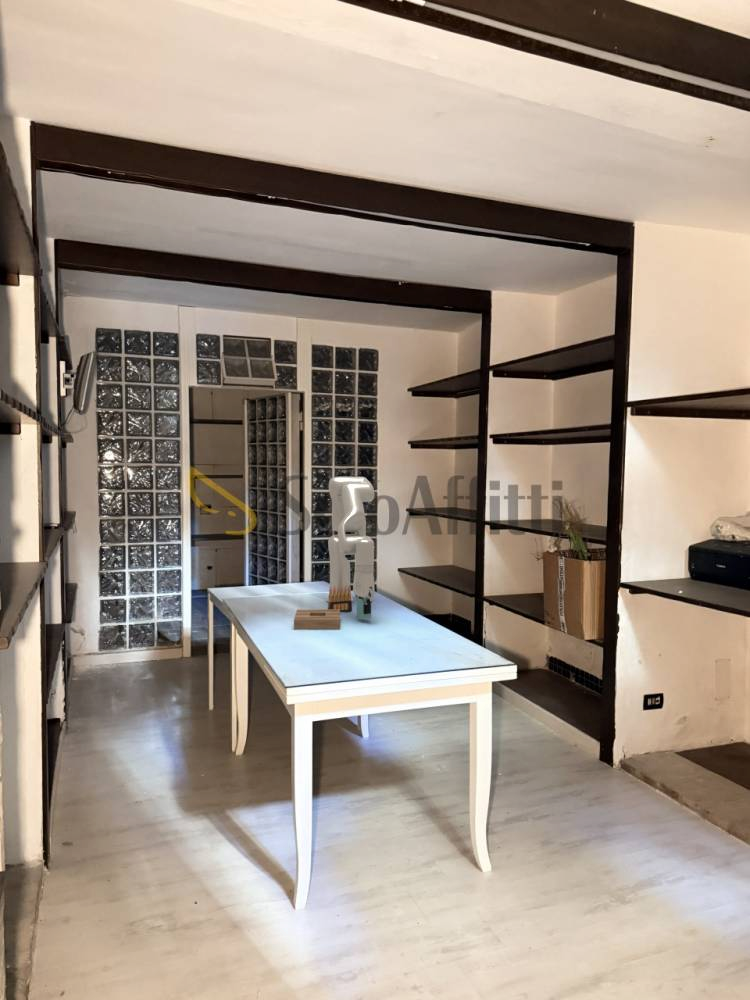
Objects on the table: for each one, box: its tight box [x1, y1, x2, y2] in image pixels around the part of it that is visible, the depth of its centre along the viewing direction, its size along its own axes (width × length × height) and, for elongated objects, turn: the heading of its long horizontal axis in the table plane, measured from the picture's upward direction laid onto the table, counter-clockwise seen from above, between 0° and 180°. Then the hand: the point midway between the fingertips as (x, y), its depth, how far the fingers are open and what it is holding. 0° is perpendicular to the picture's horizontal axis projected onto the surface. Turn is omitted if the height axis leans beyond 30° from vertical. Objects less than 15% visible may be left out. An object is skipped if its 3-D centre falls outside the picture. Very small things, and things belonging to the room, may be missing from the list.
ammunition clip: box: [327, 584, 353, 613], centre depth 295 cm, size 11×2×12 cm, turn 114°
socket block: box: [293, 608, 341, 630], centre depth 273 cm, size 18×18×4 cm
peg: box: [356, 597, 372, 620], centre depth 279 cm, size 4×4×8 cm
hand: (363, 612), depth 279 cm, fingers closed on peg, 4 cm apart
